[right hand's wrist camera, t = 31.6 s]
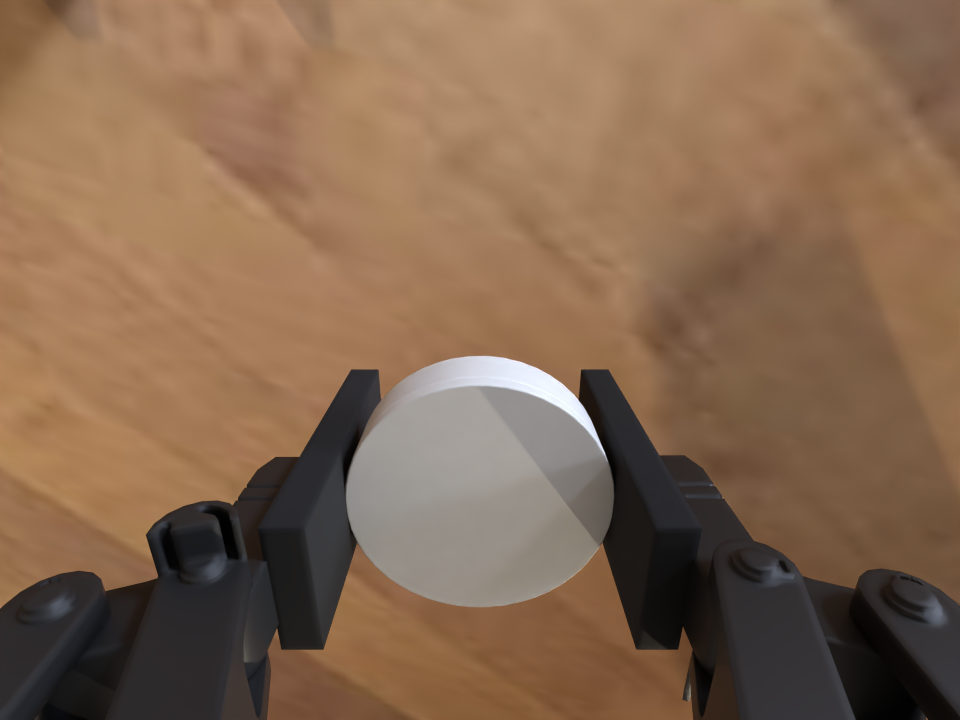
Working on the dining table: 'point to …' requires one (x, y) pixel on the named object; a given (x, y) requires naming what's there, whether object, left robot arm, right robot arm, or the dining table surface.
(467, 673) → the dining table surface
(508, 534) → the lid
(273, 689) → the dining table surface
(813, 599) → the right robot arm
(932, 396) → the dining table surface
